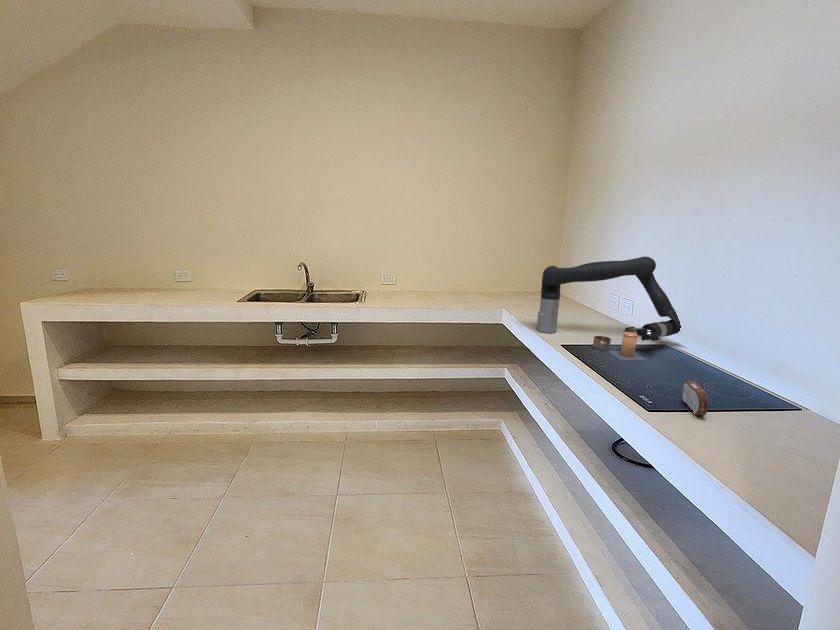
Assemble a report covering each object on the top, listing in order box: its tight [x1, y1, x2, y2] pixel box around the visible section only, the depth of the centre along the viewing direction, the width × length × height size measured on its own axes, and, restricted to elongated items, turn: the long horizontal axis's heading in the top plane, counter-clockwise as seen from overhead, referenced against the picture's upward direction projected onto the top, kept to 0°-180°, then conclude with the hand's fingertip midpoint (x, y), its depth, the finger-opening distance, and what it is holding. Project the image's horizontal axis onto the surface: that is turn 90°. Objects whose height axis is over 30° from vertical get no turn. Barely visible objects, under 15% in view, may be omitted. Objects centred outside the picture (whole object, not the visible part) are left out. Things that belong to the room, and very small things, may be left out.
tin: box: [681, 380, 709, 417], centre depth 154 cm, size 15×3×8 cm, turn 170°
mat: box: [607, 350, 648, 362], centre depth 207 cm, size 12×12×1 cm
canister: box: [592, 335, 612, 352], centre depth 217 cm, size 7×7×5 cm
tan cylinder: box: [620, 331, 639, 357], centre depth 206 cm, size 6×6×10 cm
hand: (633, 335), depth 206 cm, fingers open, 8 cm apart
